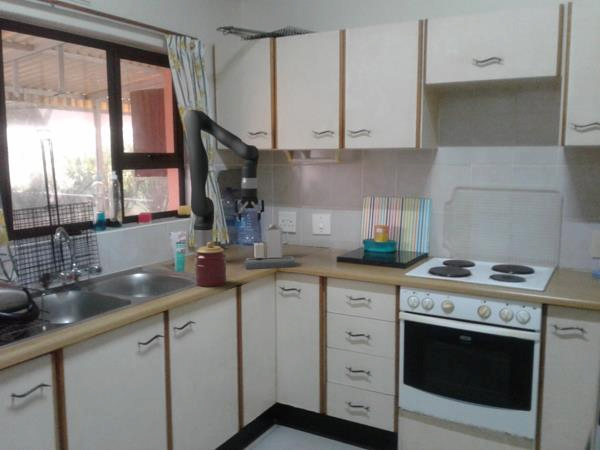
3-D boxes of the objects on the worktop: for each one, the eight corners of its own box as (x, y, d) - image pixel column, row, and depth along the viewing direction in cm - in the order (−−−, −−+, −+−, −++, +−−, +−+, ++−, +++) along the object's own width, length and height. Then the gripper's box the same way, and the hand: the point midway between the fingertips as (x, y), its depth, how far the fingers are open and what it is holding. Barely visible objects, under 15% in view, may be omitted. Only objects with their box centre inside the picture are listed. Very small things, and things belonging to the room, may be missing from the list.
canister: (212, 288, 210) (211, 245, 208) (188, 284, 217) (187, 242, 215) (233, 282, 221) (232, 240, 219) (209, 278, 228) (208, 238, 226)
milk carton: (282, 256, 280) (282, 221, 278) (280, 258, 273) (280, 222, 270) (269, 256, 281) (269, 221, 278) (267, 258, 274) (266, 222, 271)
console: (246, 269, 247) (245, 262, 247) (243, 264, 259) (243, 257, 258) (295, 267, 252) (295, 259, 251) (291, 262, 263) (291, 255, 263)
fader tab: (255, 262, 251) (255, 244, 250) (254, 260, 256) (254, 242, 255) (263, 262, 252) (263, 244, 251) (262, 260, 257) (262, 242, 256)
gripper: (234, 187, 245) (234, 222, 247) (265, 187, 247) (265, 221, 249) (234, 186, 252) (234, 220, 254) (263, 186, 254) (263, 220, 256)
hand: (249, 221), depth 252 cm, fingers open, 8 cm apart
